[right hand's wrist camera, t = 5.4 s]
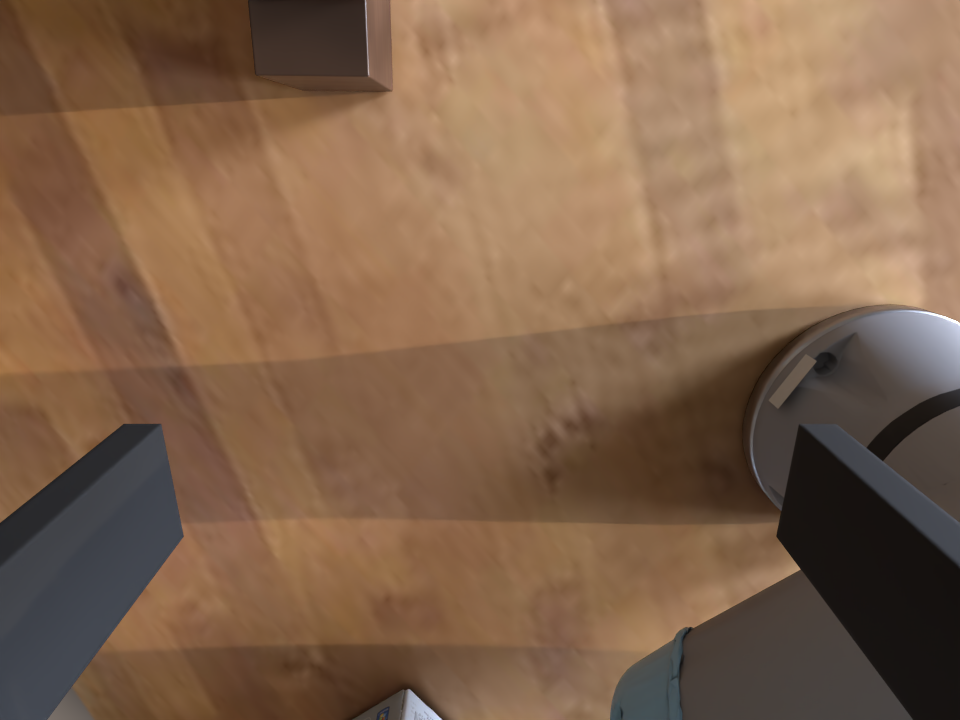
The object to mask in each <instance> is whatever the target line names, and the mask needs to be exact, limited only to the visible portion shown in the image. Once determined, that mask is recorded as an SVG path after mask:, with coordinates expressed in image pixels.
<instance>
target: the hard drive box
mask: <svg viewBox="0 0 960 720" xmlns="http://www.w3.org/2000/svg"><path fill="white" fill-rule="evenodd" d="M352 720H442V719H441V718H440V717H439V716H438V715H437V714H436V713H435V712H434V711H433V710H432V709H430V708H429V707H428V706H426V705H425V704H424V703H423V702H422V701H421V700H420V699H419V698H418V697H417V696H416V695H415V694H414V693H413V692H412V691H411V690H410V689H407V690H401V691H399V692H398V693H396V694H394V695H392V696H391V697H389V698H388V699H386V700H384V701H383V702H381V703H379V704H378V705H376V706H374V707H373V708H371V709H369V710H367V711H366V712H364V713H363V714H361V715H359V716H358V717H356V718H354V719H352Z"/></svg>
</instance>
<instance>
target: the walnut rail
mask: <svg viewBox="0 0 960 720" xmlns="http://www.w3.org/2000/svg"><path fill="white" fill-rule="evenodd" d="M248 5H249V15H250V25H251V35H252V45H253V55H254V65H255V74H256V75H257V76H260V77H263V78H266V79H269V80H272V81H275V82H278V83H281V84H285V85H288V86H291V87H294V88H297V89H300V90H315V91H393V78H392V46H391V14H390V0H248Z"/></svg>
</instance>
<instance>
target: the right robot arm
mask: <svg viewBox="0 0 960 720" xmlns="http://www.w3.org/2000/svg"><path fill="white" fill-rule="evenodd" d="M743 447H744V453H745V457H746V461H747V464H748V467H749V469H750V471H751V473H752V475H753V477H754V479H755V480H756V482H757V483H758V485H759V486H760V488H761V489H762V490H763V491H764V493H765V494H766V495H767V496H768V497H769V499H770V500H771V501H772V502H773V503H774V505H775V506H776V507H778V508H779V509H780V510H781V516H780V521H779V526H778V531H777V536H776V537H777V538H778V539H779V541H780V542H781V543H782V545H783V546H784V547H785V549H786V550H787V551H788V553H789V554H790V555H791V557H792V558H793V559H794V561H795V562H796V563H797V565H798V566H799V567H800V569H801V570H799V571H797V572H796V573H794V574H792V575H790V576H788V577H786V578H785V579H783V580H781V581H779V582H777V583H776V584H774V585H772V586H770V587H768V588H766V589H765V590H763V591H761V592H759V593H757V594H755V595H754V596H752V597H750V598H748V599H746V600H744V601H743V602H741V603H739V604H737V605H735V606H733V607H732V608H730V609H728V610H726V611H724V612H723V613H721V614H719V615H717V616H715V617H713V618H712V619H710V620H708V621H706V622H704V623H702V624H701V625H699V626H697V627H695V628H692V627H689V628H687V627H685V628H683V629H681V630H680V631H679V632H678V633H677V634H676V636H675V638H674V640H672V641H670V642H669V643H667V644H666V645H664V646H662V647H661V648H659V649H658V650H656V651H654V652H653V653H651V654H650V655H648V656H646V657H645V658H643V659H642V660H640V661H638V662H637V663H635V664H634V665H632V666H631V667H630V668H629V669H628V670H627V671H626V672H625V673H624V674H623V676H622V677H621V679H620V680H619V682H618V684H617V686H616V689H615V692H614V696H613V699H612V705H611V712H610V720H960V323H958V322H956V321H954V320H951V319H949V318H946V317H944V316H941V315H938V314H936V313H933V312H930V311H927V310H924V309H920V308H916V307H910V306H904V305H875V306H867V307H862V308H858V309H853V310H850V311H847V312H843V313H840V314H838V315H835V316H833V317H830V318H828V319H826V320H824V321H822V322H820V323H818V324H816V325H814V326H813V327H811V328H809V329H808V330H806V331H805V332H803V333H802V334H800V335H799V336H798V337H796V338H795V339H794V340H793V341H791V342H790V343H789V344H788V345H787V346H786V347H784V348H783V349H782V350H781V352H780V353H779V354H778V355H777V356H776V357H775V358H774V359H773V360H772V361H771V363H770V364H769V365H768V366H767V368H766V369H765V371H764V372H763V374H762V375H761V377H760V378H759V380H758V382H757V384H756V385H755V387H754V390H753V392H752V394H751V396H750V399H749V402H748V405H747V408H746V412H745V417H744V423H743ZM183 537H184V536H183V531H182V526H181V521H180V516H179V511H178V506H177V501H176V496H175V491H174V486H173V481H172V476H171V471H170V466H169V461H168V456H167V451H166V446H165V441H164V436H163V431H162V426H161V424H123V425H122V426H121V427H120V428H118V429H117V430H116V431H115V432H113V433H112V434H111V435H110V436H108V437H107V438H106V439H105V440H103V441H102V442H101V443H100V444H98V445H97V446H96V447H95V448H93V449H92V450H91V451H90V452H88V453H87V454H86V455H85V456H83V457H82V458H81V459H80V460H78V461H77V462H76V463H75V464H73V465H72V466H71V467H70V468H68V469H67V470H66V471H65V472H63V473H62V474H61V475H60V476H58V477H57V478H56V479H55V480H53V481H52V482H51V483H50V484H48V485H47V486H46V487H45V488H43V489H42V490H41V491H40V492H38V493H37V494H36V495H35V496H33V497H32V498H31V499H30V500H28V501H27V502H26V503H25V504H23V505H22V506H21V507H20V508H18V509H17V510H16V511H15V512H13V513H12V514H11V515H10V516H8V517H7V518H6V519H5V520H3V521H2V522H1V523H0V720H47V719H48V718H49V716H50V715H51V714H52V712H53V711H54V710H55V708H56V707H57V706H58V704H59V703H60V702H61V700H62V699H63V698H64V696H65V695H66V694H67V692H68V691H69V690H70V688H71V687H72V686H73V684H74V683H75V682H76V680H77V679H78V678H79V676H80V675H81V673H82V672H83V671H84V669H85V668H86V667H87V665H88V664H89V663H90V661H91V660H92V659H93V657H94V656H95V655H96V653H97V652H98V651H99V649H100V648H101V647H102V645H103V644H104V643H105V641H106V640H107V639H108V637H109V636H110V635H111V633H112V632H113V631H114V629H115V628H116V627H117V625H118V624H119V622H120V621H121V620H122V618H123V617H124V616H125V614H126V613H127V612H128V610H129V609H130V608H131V606H132V605H133V604H134V602H135V601H136V600H137V598H138V597H139V596H140V594H141V593H142V592H143V590H144V589H145V588H146V586H147V585H148V584H149V582H150V581H151V580H152V578H153V577H154V576H155V574H156V573H157V571H158V570H159V569H160V567H161V566H162V565H163V563H164V562H165V561H166V559H167V558H168V557H169V555H170V554H171V553H172V551H173V550H174V549H175V547H176V546H177V545H178V543H179V542H180V541H181V539H182V538H183Z"/></svg>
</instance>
